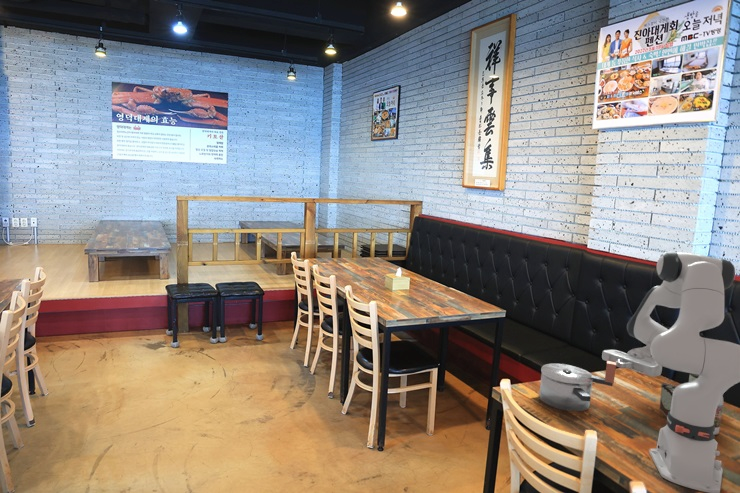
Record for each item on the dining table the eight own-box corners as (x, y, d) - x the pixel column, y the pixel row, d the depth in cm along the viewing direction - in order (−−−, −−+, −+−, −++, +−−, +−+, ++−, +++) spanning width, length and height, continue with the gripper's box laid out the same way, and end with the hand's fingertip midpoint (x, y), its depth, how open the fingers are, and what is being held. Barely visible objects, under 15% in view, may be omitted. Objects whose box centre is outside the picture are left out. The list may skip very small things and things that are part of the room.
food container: (689, 424, 174) (693, 397, 173) (670, 421, 175) (674, 395, 174) (675, 409, 186) (679, 384, 185) (658, 406, 187) (661, 382, 186)
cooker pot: (530, 388, 197) (533, 364, 196) (573, 390, 198) (576, 366, 197) (558, 419, 171) (562, 392, 170) (608, 421, 172) (612, 394, 171)
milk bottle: (686, 425, 173) (694, 371, 170) (703, 423, 175) (711, 370, 173) (707, 436, 166) (716, 380, 163) (724, 434, 168) (733, 378, 165)
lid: (537, 377, 182) (540, 356, 181) (544, 362, 199) (546, 343, 198) (612, 394, 171) (615, 371, 170) (613, 377, 187) (616, 356, 186)
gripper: (614, 344, 197) (594, 348, 190) (667, 360, 180) (647, 366, 173) (612, 359, 198) (592, 363, 190) (664, 377, 181) (644, 383, 173)
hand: (618, 365), depth 181 cm, fingers closed
